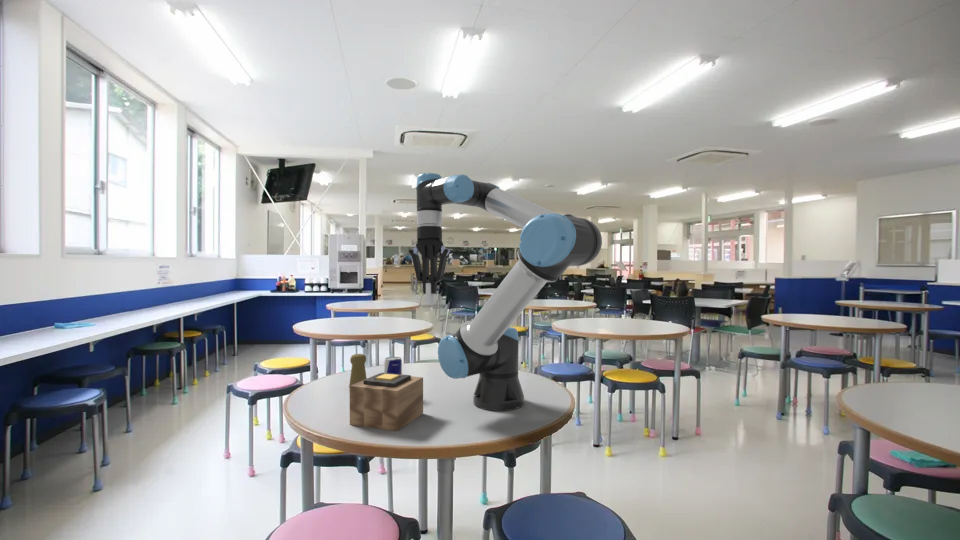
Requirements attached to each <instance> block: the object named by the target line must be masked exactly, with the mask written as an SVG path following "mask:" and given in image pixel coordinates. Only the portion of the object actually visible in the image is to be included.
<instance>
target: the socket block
mask: <svg viewBox="0 0 960 540" xmlns="http://www.w3.org/2000/svg"><path fill="white" fill-rule="evenodd" d="M383 374H392V373H384V372H381V373H377V374H375V375H372V376H369V377H366V378H367V379H365V380H362V381H360V382H358V383H355V384H353V385H351V386H350V388H349V426H350V425H351V426H356V427H357V426H358V427H365V428H370V429H371V428H372V429H377V430H378V429H379V430H385V431H393V432H399V431H400V430H401V429H403V428H404V427H406V426H407V425H409V424H411V423H412V422H413V421H414V420H416V419H417V418H419V417H420V416H422V415H424V377H421V376H412V375H411V374H403V373H402V374H393V375H399V378H397V379H395V380H393V381H384V380H376V377H378V376H381V375H383Z"/></svg>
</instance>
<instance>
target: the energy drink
mask: <svg viewBox="0 0 960 540" xmlns="http://www.w3.org/2000/svg"><path fill="white" fill-rule="evenodd" d="M402 363H403V361H402V357H401V356H387V357H385V358H384V361H383V364H384V368H383V370H384V372H383V373H392V374H403V372H402V371H403V367H402V365H403V364H402Z"/></svg>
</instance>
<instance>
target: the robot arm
mask: <svg viewBox="0 0 960 540" xmlns="http://www.w3.org/2000/svg"><path fill="white" fill-rule="evenodd" d="M415 190H416V225H417V228H416V240H417V241H416V244H415V247H413V248H412V249H409V250H408V253H409V255H410V256H411V259H412V263H413V268H414V273H415V276H416V280H417V281H418V282H421V283H422V292H423V294H425V305H426V306H433V305H435V294H437V292H438V291H437V290H438V288H437V286H438V284H437V283H438V282H441V281H443V279H444V274H445V271H446V266H447V261H448V257H449V255H450V253H451V252H452V251H451V249H450V248H447V247H445V246H444V243H443V227H442V225H443V209H442V208H443V205H451V204H455V205H461V206H468V207H469V206H470V207H477V208H480V209H482V210H484V211H486V212H489V213H490V214H493V215H494V216H497V217H499V218H501V219H504V220H505V221H507V222H509V223H512V224H513V225H515V226H518V227H519V228H522V230H521V232H520V236H519V239H520V242H519V243H518V244H519V245H518V246H519V248H518V250H517V258H518V260H517V261H516V263H515V264H514V265H513V267H511V269H510V271H509V272H508V273H507V275H506V276H505V277H504V278H503V280H502V281H501V282H500V284H499V285H498V286H497V288H496V289H495V290H494V292H493V293H492V294H491V296H490V297H489V298H488V300H486V302H485V303H484V305H483V306H482V307H481V309H480V310H479V311H478V312H477V314H476V315H475V316H474V318H473V319H472V320H466V321H465V322H463V323H462V324H461V326H459V328H458V329H457V331H456V332H455V333H454V334H447V335H446V336H444V337H442V338H441V339H440V341H439V343H438V346H437V355H438V356H437V358H438V362H439V365H440V368H441V370H442V371H443V373H444V375H446V376H448V377H449V378H451V379H454V380H458V379H465V378H467V377H472V376H475V375H478V374H479V375H478V376H479V377H478V380H477V383H476V387H475V390H474V392H473V404H474V406H476V407H477V408H479V409H483V410H488V411H511V410H516V409H519V408H522V407H524V404H525V395H524V391H523V389H522V385H521V383H520V378H519V343H520V340H519V333H518V332H519V331H518V330H517V328H515V327H512V324H513V323H514V322H515V321H516V320H517V319H518V317H519V316H520V315H521V314H522V312H523V311H524V310H525V309H526V308H527V307H528V305H529V304H530V303H531V302H532V301H533V299H534V298H535V297H536V296H537V294H538V293H539V292H540V291H541V290H542V289H543V287H544V286H545V285H546V284H547V283H555V282H557V281H558V279H559V278H560V277H562V275H563V274H564V273H565V271H566V270H567V269H569V267H580V266H584V265H587V264H589V263H591V262H593V261H594V260H595V259H596V257H598V255H599V253H600V252H601V250H602V247H603V246H602V245H603V237H602V234H601V231H600V229H599V228H598V226H597V225H596V224H595V223H593V221H591V220H589V219H586V218H582V217H578V216H575V215H572V214H570V213H565V214H561V213H557V212H555V211H554V210H550V209H548V208H545V207H543V206H541V205H539V204H537V203H534V202H532V201H529V200H527V199H525V198H522V197H520V196H517V195H516V194H513V193H510V192H508V191H506V190H503V189H502V188H501V187H499V186H498V185H496V184H493V183H491V182H483V181H477V180H473V179H471V178H470V177H469V176H468V175H466V174H453V175H450V176H446V177H442V176H441V175H440V174H439V173H434V172H427V173H425V172H424V173H420V174H418V176H416V186H415ZM440 253H441V255H440V258H439V254H440ZM419 254H420V255H421V260H420V256H419ZM438 259H439V262H438ZM421 261H422V262H421Z"/></svg>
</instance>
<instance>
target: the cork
mask: <svg viewBox="0 0 960 540" xmlns="http://www.w3.org/2000/svg"><path fill="white" fill-rule="evenodd" d="M349 361H350V364H351V370H350V378H349V384H348V385H349V386H348V388H349V389H350V386H351V385H353V384H355V383H358V382H360V381H362V380H365V379H367V378H368V377H367V372H366V363H367V362H366V361H367V356H366V355H365V354H364V353H355V354H352V355H351V356H350V359H349Z"/></svg>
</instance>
